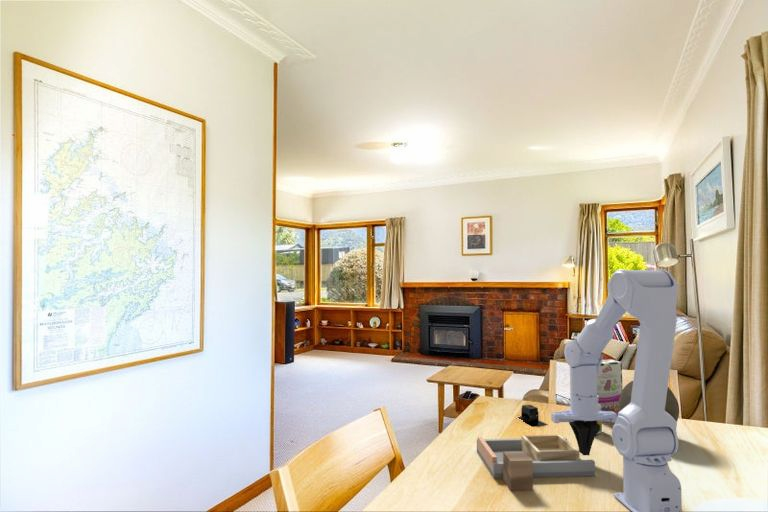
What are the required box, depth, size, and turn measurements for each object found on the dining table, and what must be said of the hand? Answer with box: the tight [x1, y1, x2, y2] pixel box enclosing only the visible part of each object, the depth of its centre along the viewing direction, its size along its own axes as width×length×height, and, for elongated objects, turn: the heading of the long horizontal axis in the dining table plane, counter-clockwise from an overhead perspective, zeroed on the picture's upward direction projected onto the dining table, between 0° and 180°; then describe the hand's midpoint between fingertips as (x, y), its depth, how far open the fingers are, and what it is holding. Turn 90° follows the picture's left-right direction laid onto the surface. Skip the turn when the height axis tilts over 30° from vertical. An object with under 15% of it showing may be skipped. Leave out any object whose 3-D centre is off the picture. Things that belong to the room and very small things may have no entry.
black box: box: [518, 404, 549, 428], centre depth 129 cm, size 12×7×5 cm, turn 18°
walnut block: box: [502, 451, 534, 492], centre depth 90 cm, size 4×4×6 cm
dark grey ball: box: [619, 380, 680, 423], centre depth 116 cm, size 14×14×15 cm
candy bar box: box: [597, 358, 623, 416], centre depth 133 cm, size 11×5×16 cm, turn 105°
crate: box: [521, 434, 581, 461], centre depth 100 cm, size 9×9×3 cm
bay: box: [476, 436, 596, 479], centre depth 100 cm, size 14×22×4 cm, turn 93°
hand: (584, 453), depth 101 cm, fingers closed
